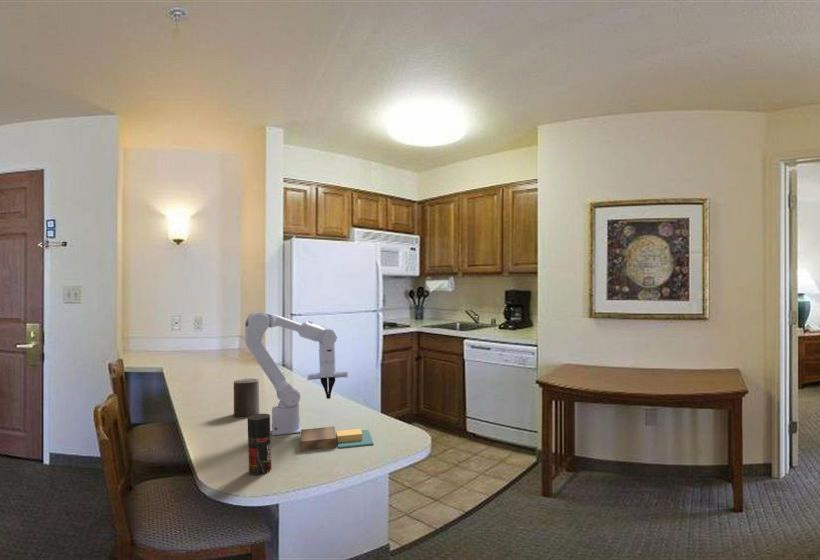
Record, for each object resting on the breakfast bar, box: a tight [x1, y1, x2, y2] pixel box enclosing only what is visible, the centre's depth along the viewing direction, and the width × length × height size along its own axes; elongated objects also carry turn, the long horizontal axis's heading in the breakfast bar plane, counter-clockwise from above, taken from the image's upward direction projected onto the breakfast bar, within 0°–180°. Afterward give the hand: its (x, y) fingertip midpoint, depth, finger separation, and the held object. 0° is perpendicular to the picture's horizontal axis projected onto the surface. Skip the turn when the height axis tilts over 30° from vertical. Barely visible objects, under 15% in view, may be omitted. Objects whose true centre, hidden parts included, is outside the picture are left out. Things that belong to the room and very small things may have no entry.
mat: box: [335, 429, 374, 449], centre depth 150 cm, size 11×14×1 cm
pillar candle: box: [233, 377, 260, 418], centre depth 184 cm, size 10×10×15 cm
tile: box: [336, 428, 363, 443], centre depth 149 cm, size 8×6×2 cm
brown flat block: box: [299, 426, 338, 452], centre depth 147 cm, size 11×12×3 cm
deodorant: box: [246, 413, 272, 476], centre depth 127 cm, size 6×6×15 cm
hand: (328, 398), depth 168 cm, fingers closed
